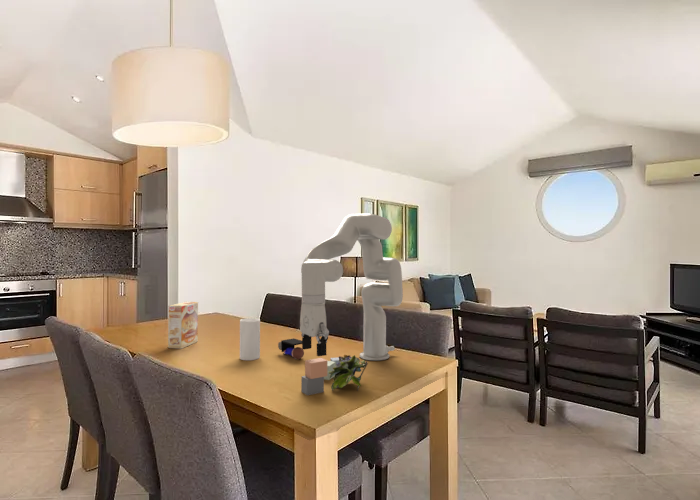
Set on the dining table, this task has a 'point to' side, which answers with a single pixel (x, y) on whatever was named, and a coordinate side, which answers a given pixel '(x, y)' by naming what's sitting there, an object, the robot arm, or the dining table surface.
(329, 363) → the sage brick
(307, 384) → the charcoal brick
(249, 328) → the cup
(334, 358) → the slate-blue brick
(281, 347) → the figurine character
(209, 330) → the dining table surface
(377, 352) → the robot arm
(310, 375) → the terracotta brick
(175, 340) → the coffeecake box
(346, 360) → the passion flower
